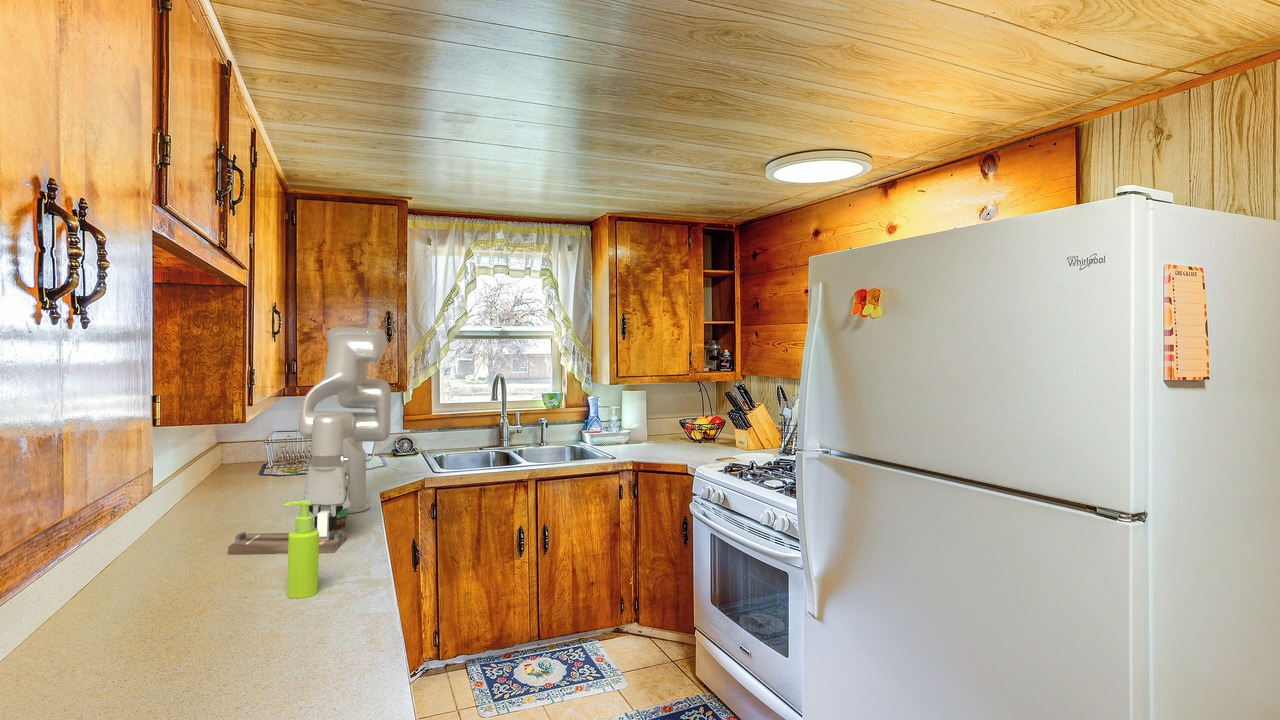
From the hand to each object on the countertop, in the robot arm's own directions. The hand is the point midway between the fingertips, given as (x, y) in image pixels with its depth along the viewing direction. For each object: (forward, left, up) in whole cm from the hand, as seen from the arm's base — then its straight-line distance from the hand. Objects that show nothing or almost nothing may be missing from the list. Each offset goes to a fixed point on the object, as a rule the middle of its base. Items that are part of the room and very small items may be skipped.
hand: (325, 529), depth 176 cm
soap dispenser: (+35, +5, -5) cm, 36 cm away
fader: (0, 0, -2) cm, 2 cm away
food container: (-19, -2, -5) cm, 20 cm away
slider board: (0, -9, -4) cm, 10 cm away
